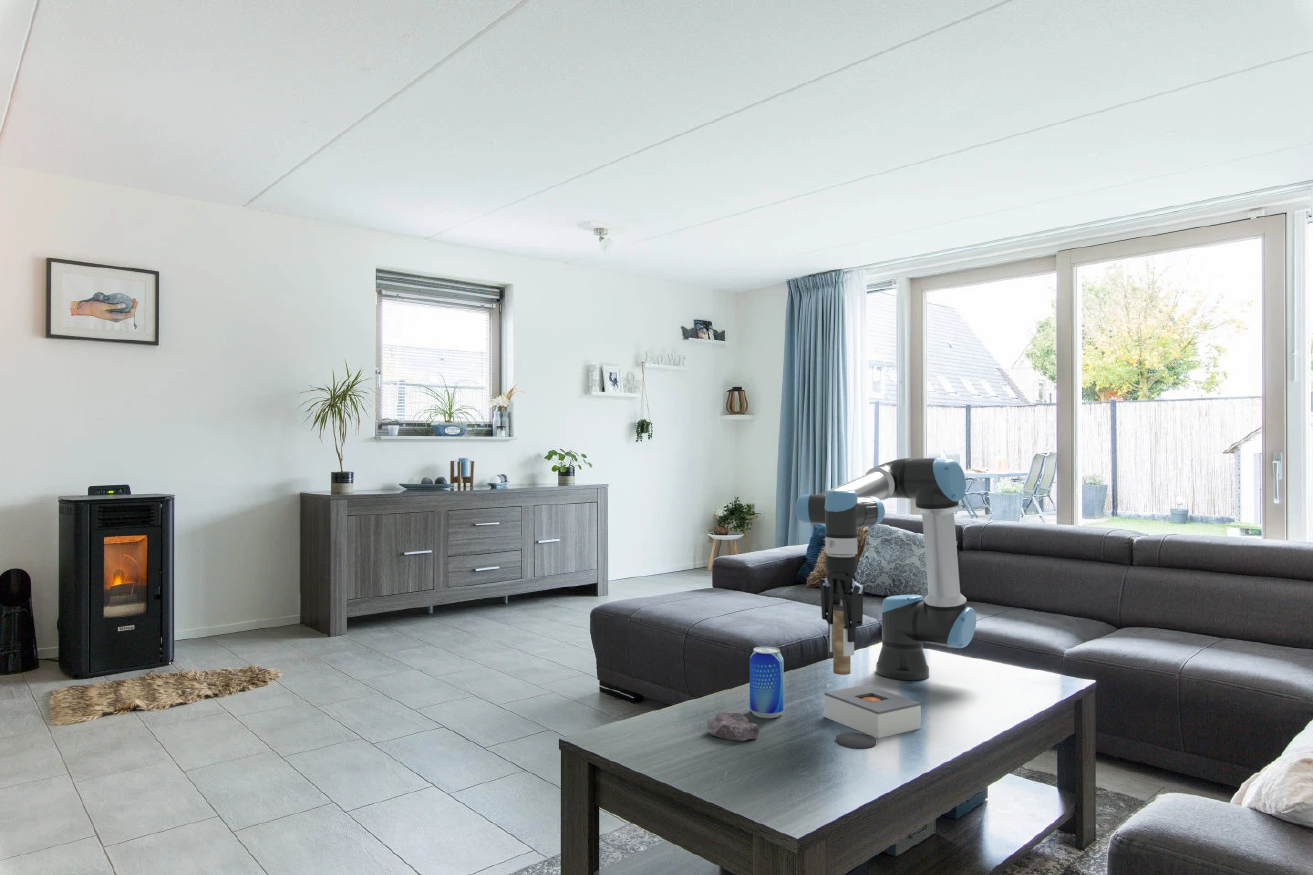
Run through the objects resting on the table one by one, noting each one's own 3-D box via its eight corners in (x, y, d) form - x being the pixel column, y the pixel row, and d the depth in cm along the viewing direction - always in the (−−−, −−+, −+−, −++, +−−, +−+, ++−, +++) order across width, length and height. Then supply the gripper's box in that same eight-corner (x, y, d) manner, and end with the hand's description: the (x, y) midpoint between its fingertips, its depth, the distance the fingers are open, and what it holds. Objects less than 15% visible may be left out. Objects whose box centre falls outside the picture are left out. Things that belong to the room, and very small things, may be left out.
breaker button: (858, 706, 200) (858, 698, 200) (871, 703, 203) (871, 695, 203) (871, 711, 196) (871, 703, 197) (884, 708, 199) (884, 700, 199)
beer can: (787, 711, 208) (787, 647, 208) (777, 720, 200) (778, 654, 200) (755, 706, 211) (755, 644, 212) (745, 716, 204) (745, 651, 204)
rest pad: (827, 738, 187) (827, 736, 187) (856, 732, 192) (856, 729, 192) (855, 751, 180) (855, 748, 180) (885, 744, 184) (885, 741, 184)
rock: (748, 745, 183) (748, 725, 183) (703, 736, 189) (703, 716, 189) (763, 735, 190) (763, 715, 190) (719, 727, 196) (719, 707, 196)
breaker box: (824, 716, 204) (824, 692, 204) (865, 708, 211) (865, 684, 211) (878, 738, 188) (878, 711, 188) (920, 728, 195) (920, 702, 195)
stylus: (829, 671, 197) (829, 604, 197) (842, 669, 199) (842, 603, 199) (841, 675, 193) (841, 607, 193) (854, 673, 195) (853, 605, 195)
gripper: (805, 552, 202) (806, 647, 201) (855, 560, 187) (855, 663, 187) (828, 550, 206) (829, 644, 205) (879, 557, 191) (879, 658, 191)
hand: (841, 652), depth 196 cm, fingers closed on stylus, 4 cm apart
